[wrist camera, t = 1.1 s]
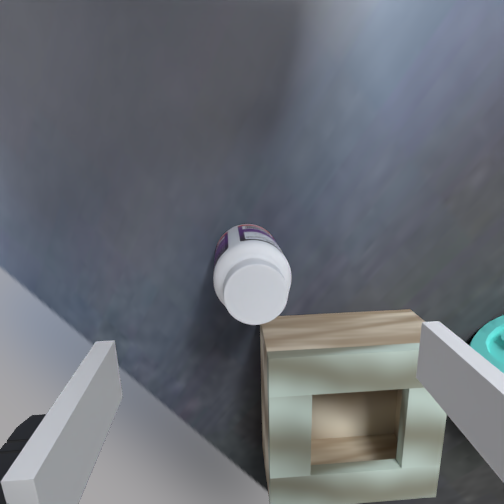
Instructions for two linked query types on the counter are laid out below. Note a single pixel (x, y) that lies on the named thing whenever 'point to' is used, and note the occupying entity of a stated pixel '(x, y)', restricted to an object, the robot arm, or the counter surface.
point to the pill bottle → (251, 274)
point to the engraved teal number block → (491, 342)
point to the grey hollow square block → (347, 409)
